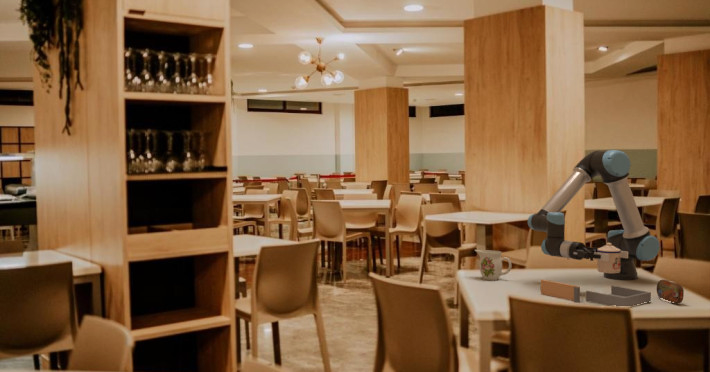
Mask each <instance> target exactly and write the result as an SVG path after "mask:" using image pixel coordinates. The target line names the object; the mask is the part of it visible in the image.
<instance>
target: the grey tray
mask: <svg viewBox="0 0 710 372" xmlns="http://www.w3.org/2000/svg"><path fill="white" fill-rule="evenodd" d="M610 287H611V289H610V290H611V291H610V292H611V293H609V294H607V293H602V292H601V293H600V292H597V291H592V290H591V291H590V290H585V301H586V302H591V303H596V304H601V305H606V306H609V305H616V306H633V305H637V304H641V303H644V302H649V301H651V302H652V295H651V294H652V293H651V291H645V290H640V289H633V288H628V287H623V286H617V285H611V286H610ZM580 302H581V286H580V287H574V300H573V303H580ZM649 303H650V302H649ZM641 305H642V304H641ZM637 306H638V305H637ZM633 307H634V306H633Z"/></svg>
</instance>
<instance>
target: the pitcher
mask: <svg viewBox="0 0 710 372" xmlns="http://www.w3.org/2000/svg"><path fill="white" fill-rule="evenodd" d="M474 252H476V253H477V254H478V256H479V262H478V263H479V264H478V266H479V272H480V275H481V278H482V279H483V280H485V281H498V280H499V278H500V276H505V275H507V274H509V273H510V272H511V270H512V261H511V259H510V258H509V257H506V256H504V257H502V254H503V253H502V251H500V250H491V249H490V250H489V249H474ZM503 261H507V262H508V268H507V269H506V270H505V271H503ZM497 279H498V280H497Z"/></svg>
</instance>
